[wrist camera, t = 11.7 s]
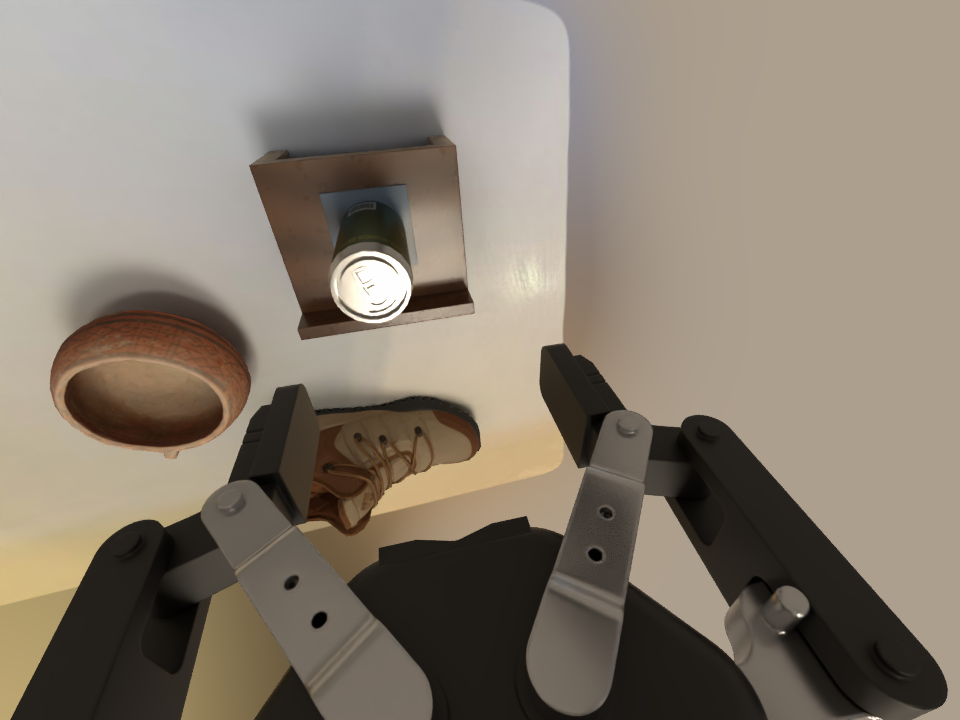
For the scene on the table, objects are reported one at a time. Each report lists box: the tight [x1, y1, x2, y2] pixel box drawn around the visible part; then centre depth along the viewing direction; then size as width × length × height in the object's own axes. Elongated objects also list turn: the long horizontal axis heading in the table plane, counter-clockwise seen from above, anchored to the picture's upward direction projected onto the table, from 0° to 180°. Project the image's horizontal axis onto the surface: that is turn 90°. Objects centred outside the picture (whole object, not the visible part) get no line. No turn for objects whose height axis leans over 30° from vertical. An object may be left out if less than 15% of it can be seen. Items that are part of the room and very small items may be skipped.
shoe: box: [298, 397, 481, 536], centre depth 51 cm, size 10×27×15 cm, turn 82°
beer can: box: [328, 201, 413, 323], centre depth 30 cm, size 5×5×12 cm
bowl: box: [50, 310, 251, 459], centre depth 41 cm, size 16×16×10 cm
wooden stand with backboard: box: [249, 136, 474, 340], centre depth 37 cm, size 14×16×10 cm
